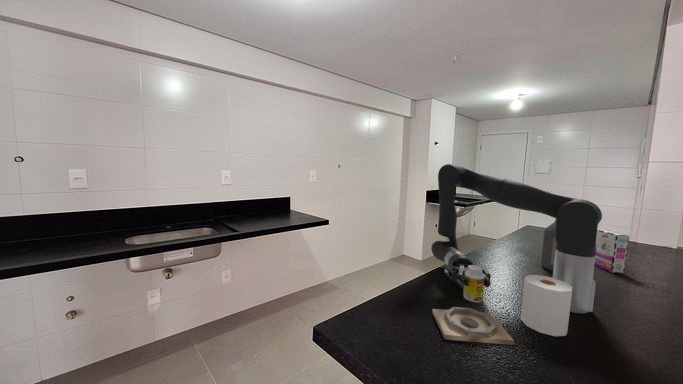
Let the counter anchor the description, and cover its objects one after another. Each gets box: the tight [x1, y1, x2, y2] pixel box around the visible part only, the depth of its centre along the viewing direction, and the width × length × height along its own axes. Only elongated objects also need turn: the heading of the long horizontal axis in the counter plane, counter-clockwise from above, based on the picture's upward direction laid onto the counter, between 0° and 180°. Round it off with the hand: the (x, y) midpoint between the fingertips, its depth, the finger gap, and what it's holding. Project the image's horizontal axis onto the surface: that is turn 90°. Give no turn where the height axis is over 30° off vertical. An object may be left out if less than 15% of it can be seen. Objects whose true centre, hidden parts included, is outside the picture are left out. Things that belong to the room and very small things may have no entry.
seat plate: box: [431, 306, 515, 346], centre depth 70 cm, size 16×12×2 cm
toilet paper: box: [520, 274, 573, 337], centre depth 72 cm, size 10×10×12 cm
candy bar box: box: [594, 228, 630, 274], centre depth 117 cm, size 11×5×16 cm, turn 172°
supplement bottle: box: [462, 264, 485, 303], centre depth 83 cm, size 6×6×10 cm
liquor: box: [540, 218, 557, 272], centre depth 114 cm, size 9×9×30 cm
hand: (477, 283), depth 81 cm, fingers closed on supplement bottle, 5 cm apart
